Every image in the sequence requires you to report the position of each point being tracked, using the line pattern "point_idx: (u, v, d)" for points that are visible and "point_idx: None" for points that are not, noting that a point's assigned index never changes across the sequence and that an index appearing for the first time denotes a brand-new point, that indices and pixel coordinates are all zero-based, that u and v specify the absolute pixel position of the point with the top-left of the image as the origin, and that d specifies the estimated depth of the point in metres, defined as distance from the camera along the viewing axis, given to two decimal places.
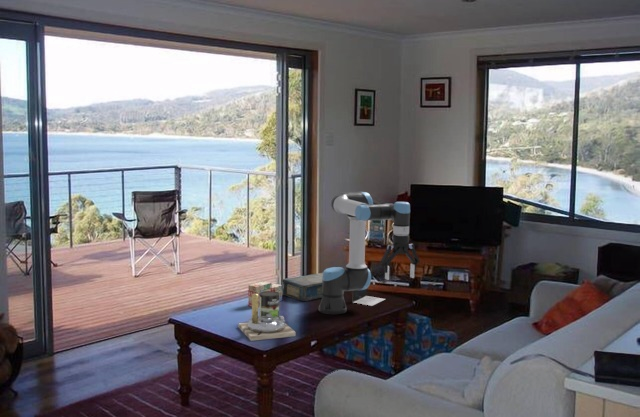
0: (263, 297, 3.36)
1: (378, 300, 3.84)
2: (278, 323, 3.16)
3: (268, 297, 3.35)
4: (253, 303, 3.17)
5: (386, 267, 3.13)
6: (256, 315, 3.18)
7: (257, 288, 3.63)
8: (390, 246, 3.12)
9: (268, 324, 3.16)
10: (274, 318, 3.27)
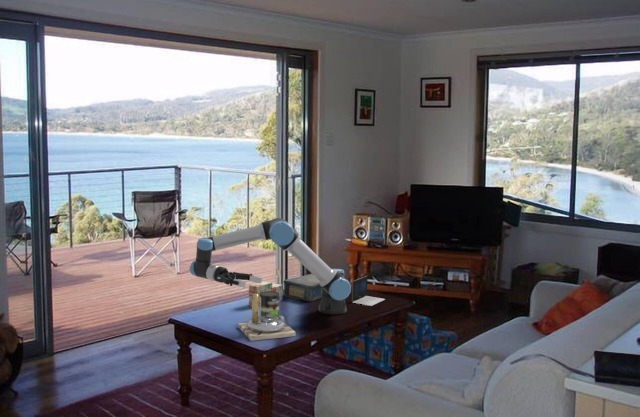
0: (263, 297, 3.36)
1: (378, 300, 3.83)
2: (278, 323, 3.16)
3: (268, 297, 3.35)
4: (253, 303, 3.17)
5: None
6: (256, 315, 3.18)
7: (258, 288, 3.63)
8: None
9: (268, 324, 3.16)
10: (274, 318, 3.27)
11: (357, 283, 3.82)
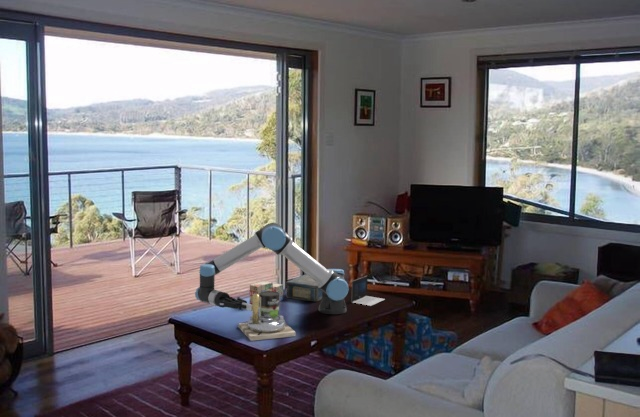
0: (263, 297, 3.36)
1: (377, 300, 3.83)
2: (279, 323, 3.17)
3: (268, 297, 3.35)
4: (254, 303, 3.16)
5: None
6: (257, 315, 3.17)
7: (258, 288, 3.64)
8: None
9: (270, 324, 3.17)
10: (273, 318, 3.27)
11: (357, 283, 3.82)
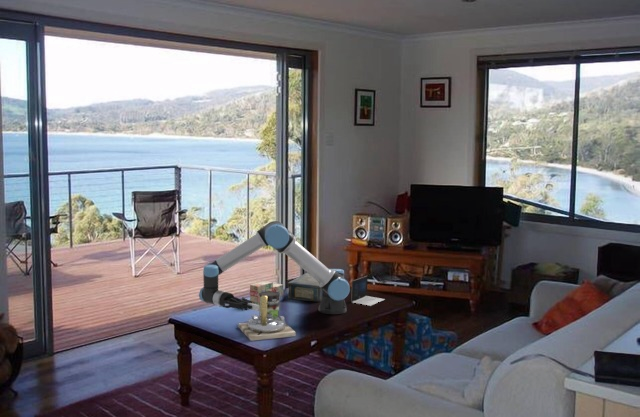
0: None
1: (377, 300, 3.83)
2: (283, 318, 3.24)
3: (268, 297, 3.35)
4: (265, 305, 3.13)
5: None
6: (267, 316, 3.15)
7: (259, 288, 3.64)
8: None
9: None
10: None
11: (357, 283, 3.82)
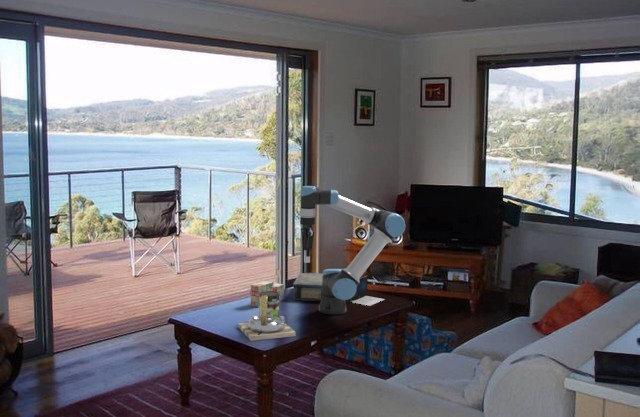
0: None
1: (377, 300, 3.83)
2: (283, 318, 3.24)
3: (268, 297, 3.35)
4: (265, 305, 3.13)
5: None
6: (267, 316, 3.15)
7: (260, 287, 3.64)
8: (301, 229, 3.42)
9: None
10: None
11: None
